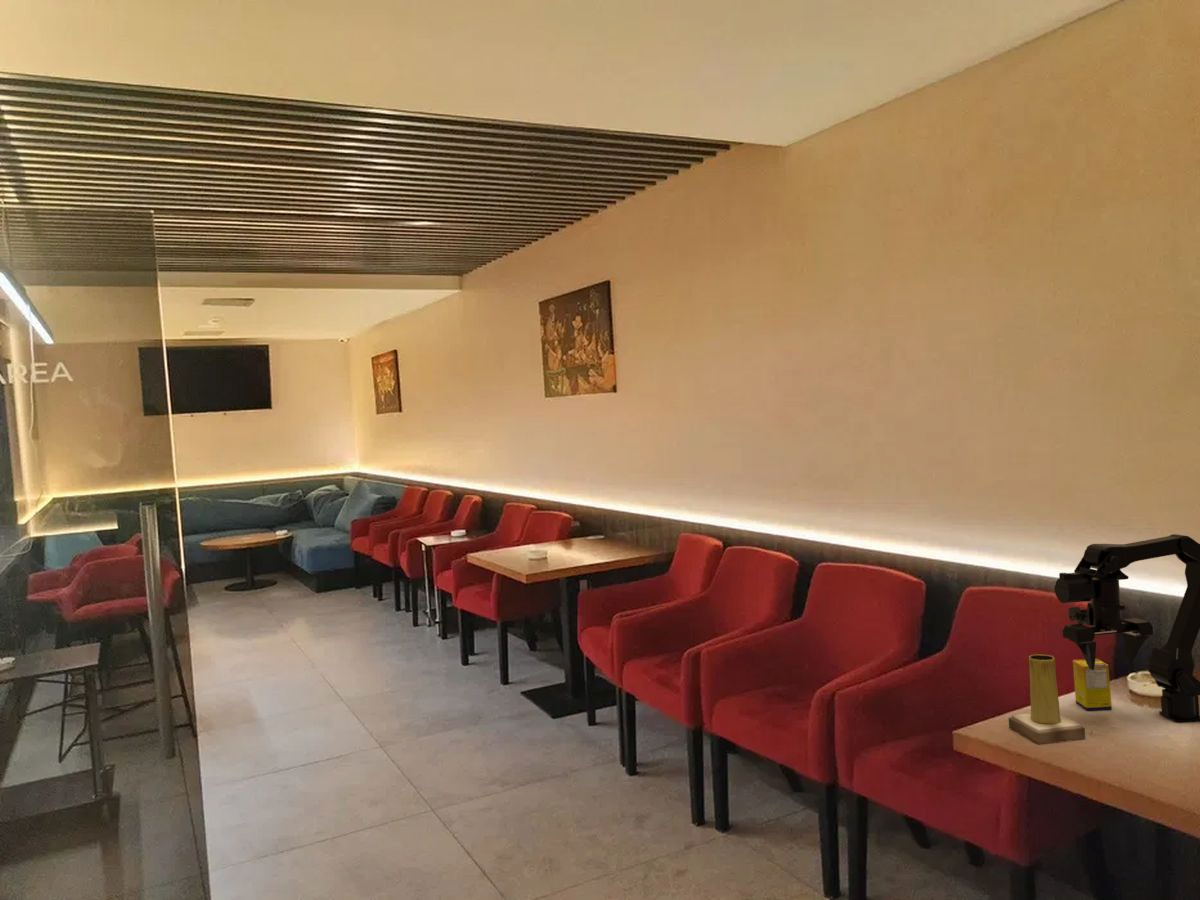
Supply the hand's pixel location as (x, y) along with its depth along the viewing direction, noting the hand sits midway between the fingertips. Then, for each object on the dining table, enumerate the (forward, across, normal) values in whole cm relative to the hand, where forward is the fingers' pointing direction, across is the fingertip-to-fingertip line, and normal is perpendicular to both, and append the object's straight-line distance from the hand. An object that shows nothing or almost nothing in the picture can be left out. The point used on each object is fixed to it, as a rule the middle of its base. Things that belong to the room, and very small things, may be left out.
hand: (1110, 667), depth 194 cm
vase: (+10, +17, +1) cm, 20 cm away
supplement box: (+13, -4, -12) cm, 18 cm away
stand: (+13, +17, +1) cm, 22 cm away
